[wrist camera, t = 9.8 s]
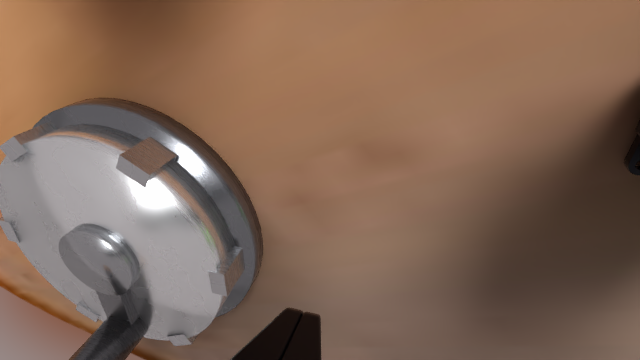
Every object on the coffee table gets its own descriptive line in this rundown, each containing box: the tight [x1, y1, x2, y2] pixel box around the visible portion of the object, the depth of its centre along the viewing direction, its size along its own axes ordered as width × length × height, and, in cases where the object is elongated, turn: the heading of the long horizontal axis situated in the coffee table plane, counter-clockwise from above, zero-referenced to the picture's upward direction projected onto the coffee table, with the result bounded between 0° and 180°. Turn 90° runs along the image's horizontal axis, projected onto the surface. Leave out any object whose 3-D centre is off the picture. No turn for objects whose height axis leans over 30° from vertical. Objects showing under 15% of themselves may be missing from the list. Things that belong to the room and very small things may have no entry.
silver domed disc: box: [0, 121, 245, 360], centre depth 20 cm, size 16×17×14 cm
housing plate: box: [33, 98, 263, 317], centre depth 27 cm, size 18×18×2 cm
